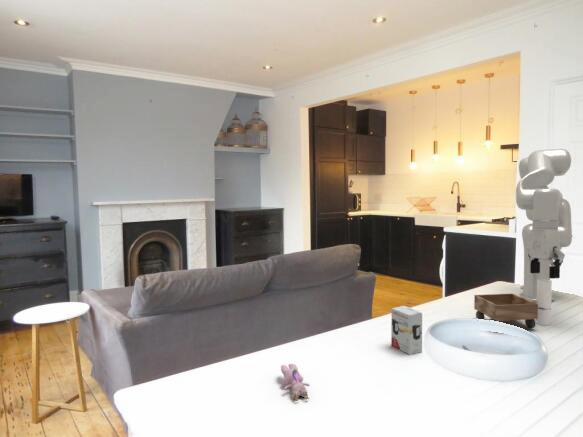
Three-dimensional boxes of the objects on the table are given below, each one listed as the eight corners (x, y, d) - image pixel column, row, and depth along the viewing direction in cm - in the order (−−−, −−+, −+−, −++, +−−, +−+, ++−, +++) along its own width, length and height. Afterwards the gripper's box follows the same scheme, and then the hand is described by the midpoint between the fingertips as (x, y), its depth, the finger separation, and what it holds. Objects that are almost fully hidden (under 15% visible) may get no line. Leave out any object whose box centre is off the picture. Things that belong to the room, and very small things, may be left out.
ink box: (390, 345, 128) (390, 307, 127) (403, 342, 130) (403, 305, 129) (409, 355, 120) (409, 314, 119) (422, 352, 122) (422, 312, 121)
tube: (546, 321, 146) (547, 279, 145) (553, 325, 142) (554, 281, 141) (534, 321, 147) (534, 279, 146) (540, 325, 143) (540, 281, 142)
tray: (474, 319, 150) (474, 295, 149) (511, 317, 151) (512, 293, 150) (496, 332, 136) (496, 305, 136) (537, 330, 137) (537, 303, 137)
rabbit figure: (315, 405, 96) (297, 369, 110) (316, 382, 94) (298, 348, 109) (288, 410, 94) (274, 372, 108) (289, 386, 93) (274, 351, 107)
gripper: (518, 224, 151) (518, 271, 151) (552, 227, 133) (551, 280, 134) (538, 223, 151) (538, 271, 152) (574, 226, 134) (573, 280, 135)
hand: (544, 275), depth 143 cm, fingers open, 9 cm apart
